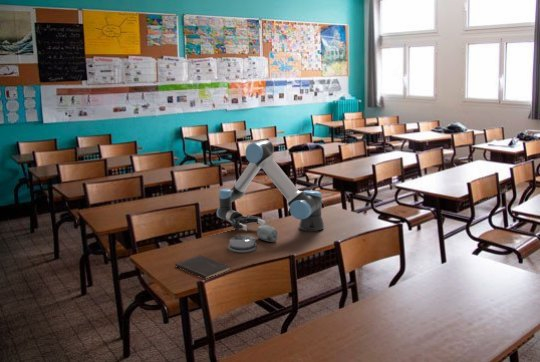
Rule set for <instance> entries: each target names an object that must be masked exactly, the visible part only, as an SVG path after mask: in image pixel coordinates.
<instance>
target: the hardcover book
mask: <svg viewBox="0 0 540 362" xmlns="http://www.w3.org/2000/svg"><path fill="white" fill-rule="evenodd" d="M176 266H177V267H179V268H181V269H184V270H186V271H188V272H190V273H189V274H191V273H193V274H195V275H197V276H196V277H198V276H200V277H202V278H204V279H203V280H205V279H206V278H208V279H210V278H209V277H211V276H213V277H215V275H216V276H217V275H220V274H223V273H225V272H228V271H230V267H231V266H230V265H227V264H225V263H222V262H220V261H217V260H214V259H212V258H210V257H207V256H204V255H201V254H199V255H196V256H193V257H190V258H188V259H185V260H182V261H179V262H176V263H175V267H176ZM177 267H176V268H177ZM179 268H178V269H179ZM181 269H180V270H181ZM184 270H183V271H184ZM186 271H185V272H186ZM188 272H187V273H188ZM193 274H192V275H193ZM195 275H194V276H195ZM200 277H199V278H200ZM202 278H201V279H202ZM211 278H212V277H211ZM206 280H207V279H206Z"/></svg>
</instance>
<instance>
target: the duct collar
mask: <svg viewBox="0 0 540 362" xmlns="http://www.w3.org/2000/svg"><path fill="white" fill-rule="evenodd" d="M227 249H228V251H229V252H231V253H234V254H235V253H237V254H249V253H252V252H255V251H256V250H257V249H258V243H256V238H255V237H253V236H251V235H236V236H233V237H231V238H230V239H229V244H228V245H227Z"/></svg>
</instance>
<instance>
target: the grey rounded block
mask: <svg viewBox="0 0 540 362" xmlns="http://www.w3.org/2000/svg"><path fill="white" fill-rule="evenodd" d="M256 229H257V230H256V234H257V237H258V238H259V239H260V240H262V241H265V242H270V243H275V242H276V241H277V240H278V232H277V230H276V228H274V227H272V226H270V225H267V224H266V225H260V226H258V227H257V228H256Z"/></svg>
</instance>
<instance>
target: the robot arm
mask: <svg viewBox="0 0 540 362" xmlns="http://www.w3.org/2000/svg"><path fill="white" fill-rule="evenodd" d="M274 147H275V146H274V144H273V143H272V141H270V140H268V139H260V140H258V141H257V140H256V141H253V142H251V143H249V144H248V145H247V146H246V148H245V152H244V153H245V158H246V160H247V161H248V162H249V163H248V165H247V166H246V167H245V169H244V170H243V172H242V173H241V175H240V176H239V178H238V179H237V181H236V182H235V183H234V185H233V186H232V187H231V189H230V188H221V189H219V190H218V191H219V193H218V198H219V199H218V201H219V207H218V208H217V210H216V217H218V218H220V219H221V220H222V221H223V220H224V221H227V222H229V223H230V225H232V227H233V228H234V229H237V230H239V229H241V230H243V231H246V232H247V231H248V225H247V224H248V223H257V224H258V225H259V224H260V226H262V225H267V222H266V220H263V219H262V217H260V216H253V215H247V216H245V215H243V214H242V213H241V212H239V211H236V210H233V209H232V203H233V202H235V201H237V200H239V199H241V198H243V197H244V195H245V191H246V189H247V188H248V187H249V185H250V184H251V182H252V181H253V179H254V178H255V177H256V176H257V174H259V171H260V170H261V169H262V170H263V172H265V174H266V175H267V176H268V178H269V179H270V180H271V182H273V185H275V186H276V188H277V189H278V190H279V191H280V193H281V194H282V195H283V196H284V198H285V199H286V200H287V202H286V204H287V206H288V207H289V213H290V215H291V216H292V217H293V218H294V219H297V220H300V221H299V223H298V228H299V230H301V229H302V230H301V231H303V230H305V231H304V232H308V231H316V232H319V231H318V230H321V229H323V228H324V229H325V224H324V220H323V217H322V207H323V206H322V204H323V203H322V202H323V201H322V199H323V197H322V193H321V192H320V191H318V190H303V191H302V190H299V189H298V188H297V187H296V185H295V184H294V183H293V181H292V180H291V179H290V178H289V177H288V175H287V174H286V173H285V172H284V170H283V169H282V168H281V167H280V165H279V164H278V163H277V162H276V161H275V159H274V152H275V148H274ZM245 223H246V224H245ZM324 229H323V230H324ZM321 231H322V230H321Z"/></svg>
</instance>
